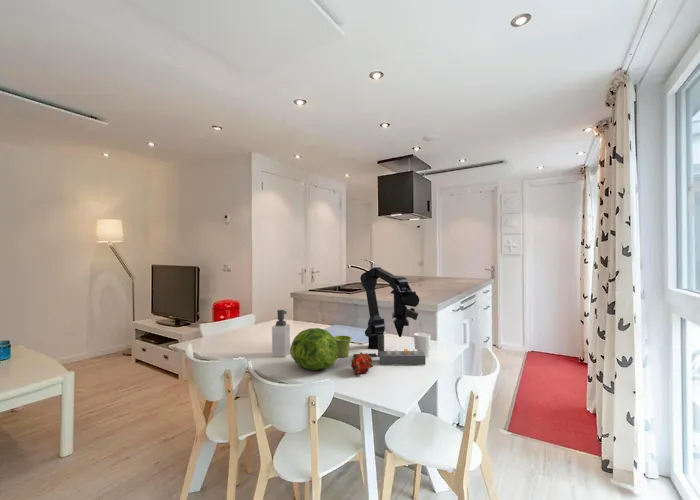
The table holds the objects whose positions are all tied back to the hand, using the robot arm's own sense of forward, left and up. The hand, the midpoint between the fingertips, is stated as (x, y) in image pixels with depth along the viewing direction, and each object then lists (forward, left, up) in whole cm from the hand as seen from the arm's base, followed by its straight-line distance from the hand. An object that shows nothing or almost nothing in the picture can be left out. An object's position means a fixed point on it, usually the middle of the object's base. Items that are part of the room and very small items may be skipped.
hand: (400, 336), depth 157 cm
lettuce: (-40, -14, -10) cm, 44 cm away
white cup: (+11, +4, -10) cm, 15 cm away
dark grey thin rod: (-17, +2, -10) cm, 20 cm away
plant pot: (-28, +3, -10) cm, 30 cm away
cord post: (-9, +3, -10) cm, 14 cm away
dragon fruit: (-18, -19, -10) cm, 28 cm away
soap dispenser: (-58, +5, -10) cm, 59 cm away
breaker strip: (0, -6, -10) cm, 12 cm away
